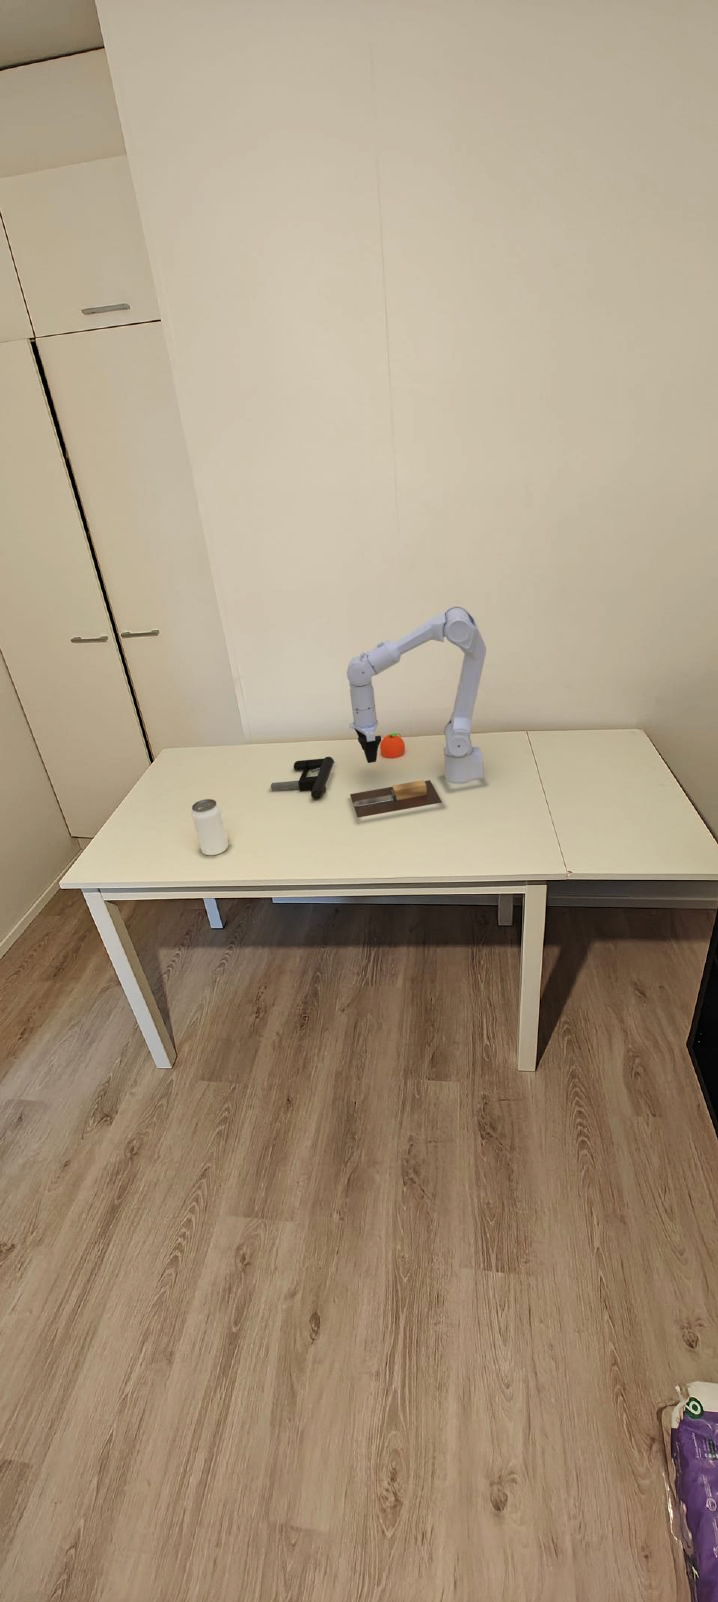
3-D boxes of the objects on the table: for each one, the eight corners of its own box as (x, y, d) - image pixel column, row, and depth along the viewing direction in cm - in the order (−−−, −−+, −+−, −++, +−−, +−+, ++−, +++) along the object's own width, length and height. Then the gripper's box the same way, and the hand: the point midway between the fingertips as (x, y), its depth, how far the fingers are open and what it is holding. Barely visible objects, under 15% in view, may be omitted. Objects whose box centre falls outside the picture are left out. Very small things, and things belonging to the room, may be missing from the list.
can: (203, 843, 171) (191, 800, 165) (229, 839, 171) (219, 796, 165) (200, 858, 165) (188, 814, 159) (227, 854, 165) (216, 810, 159)
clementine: (392, 749, 204) (389, 726, 200) (412, 753, 200) (410, 730, 196) (376, 760, 198) (373, 737, 195) (397, 765, 195) (394, 742, 191)
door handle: (264, 794, 184) (324, 789, 180) (282, 758, 201) (337, 753, 197) (267, 805, 185) (326, 800, 182) (284, 769, 202) (339, 764, 199)
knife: (424, 790, 178) (423, 779, 177) (427, 795, 176) (426, 784, 174) (352, 802, 177) (351, 792, 175) (354, 808, 174) (353, 797, 173)
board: (430, 785, 183) (430, 779, 183) (442, 807, 173) (442, 802, 172) (350, 799, 181) (349, 794, 181) (358, 822, 171) (357, 817, 170)
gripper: (343, 698, 180) (349, 746, 187) (352, 719, 167) (358, 770, 174) (370, 693, 180) (375, 741, 187) (381, 715, 168) (386, 765, 175)
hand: (369, 755), depth 181 cm, fingers open, 7 cm apart
